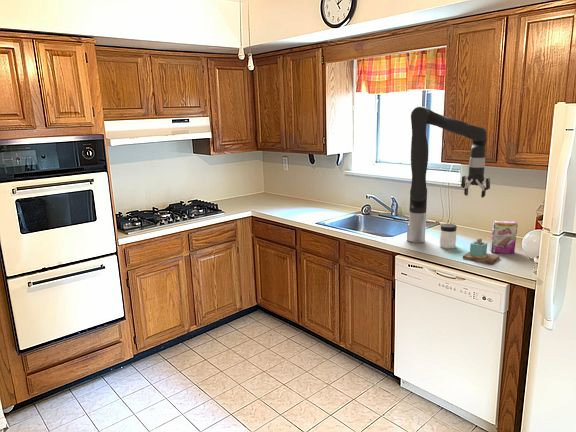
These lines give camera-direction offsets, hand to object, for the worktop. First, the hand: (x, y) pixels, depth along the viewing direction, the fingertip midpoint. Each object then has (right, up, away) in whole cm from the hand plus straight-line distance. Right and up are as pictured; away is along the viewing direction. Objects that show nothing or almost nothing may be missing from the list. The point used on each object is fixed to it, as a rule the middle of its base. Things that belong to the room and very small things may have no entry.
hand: (474, 196), depth 233 cm
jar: (-11, -27, +9) cm, 31 cm away
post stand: (-2, -32, -12) cm, 34 cm away
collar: (-3, -30, -12) cm, 32 cm away
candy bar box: (+13, -30, -3) cm, 33 cm away
